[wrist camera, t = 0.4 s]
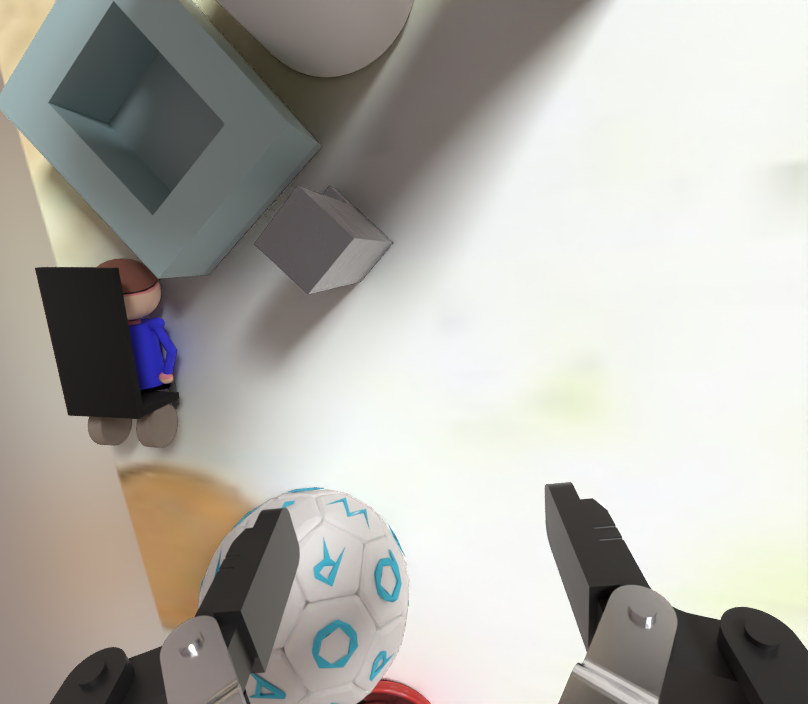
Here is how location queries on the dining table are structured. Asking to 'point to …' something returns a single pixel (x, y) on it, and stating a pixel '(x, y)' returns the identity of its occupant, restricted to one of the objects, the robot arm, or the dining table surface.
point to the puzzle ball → (331, 601)
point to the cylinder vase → (322, 31)
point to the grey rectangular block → (322, 240)
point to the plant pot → (393, 695)
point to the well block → (156, 126)
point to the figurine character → (112, 349)
